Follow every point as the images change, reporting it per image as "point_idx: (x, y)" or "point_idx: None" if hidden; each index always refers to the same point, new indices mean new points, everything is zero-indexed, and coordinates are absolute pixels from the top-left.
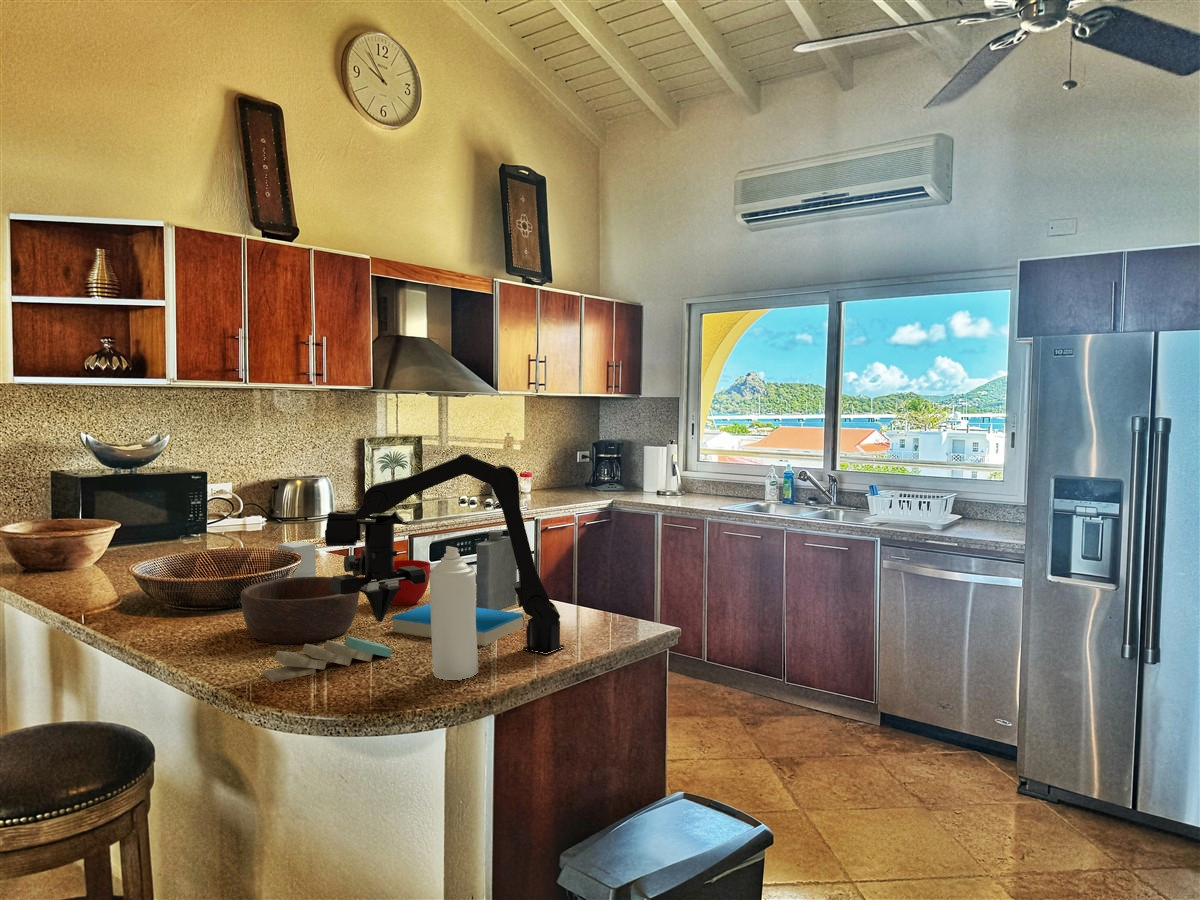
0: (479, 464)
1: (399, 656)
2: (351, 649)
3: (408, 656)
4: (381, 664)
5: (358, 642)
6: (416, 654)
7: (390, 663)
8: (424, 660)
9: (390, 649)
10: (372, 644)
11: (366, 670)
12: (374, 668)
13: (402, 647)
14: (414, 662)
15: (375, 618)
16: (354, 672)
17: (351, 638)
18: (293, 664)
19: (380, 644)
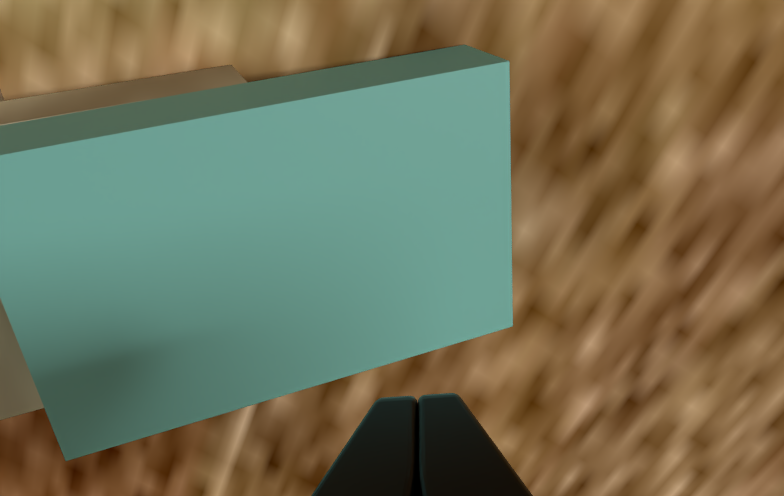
0: None
1: (564, 301)
2: (23, 408)
3: (629, 342)
4: (334, 408)
5: (74, 456)
6: (721, 329)
7: None
8: (668, 487)
9: (488, 332)
10: (290, 339)
11: (184, 468)
12: (253, 459)
13: (772, 30)
14: (578, 488)
15: (358, 428)
16: (90, 463)
17: (1, 300)
18: None
19: (473, 122)
